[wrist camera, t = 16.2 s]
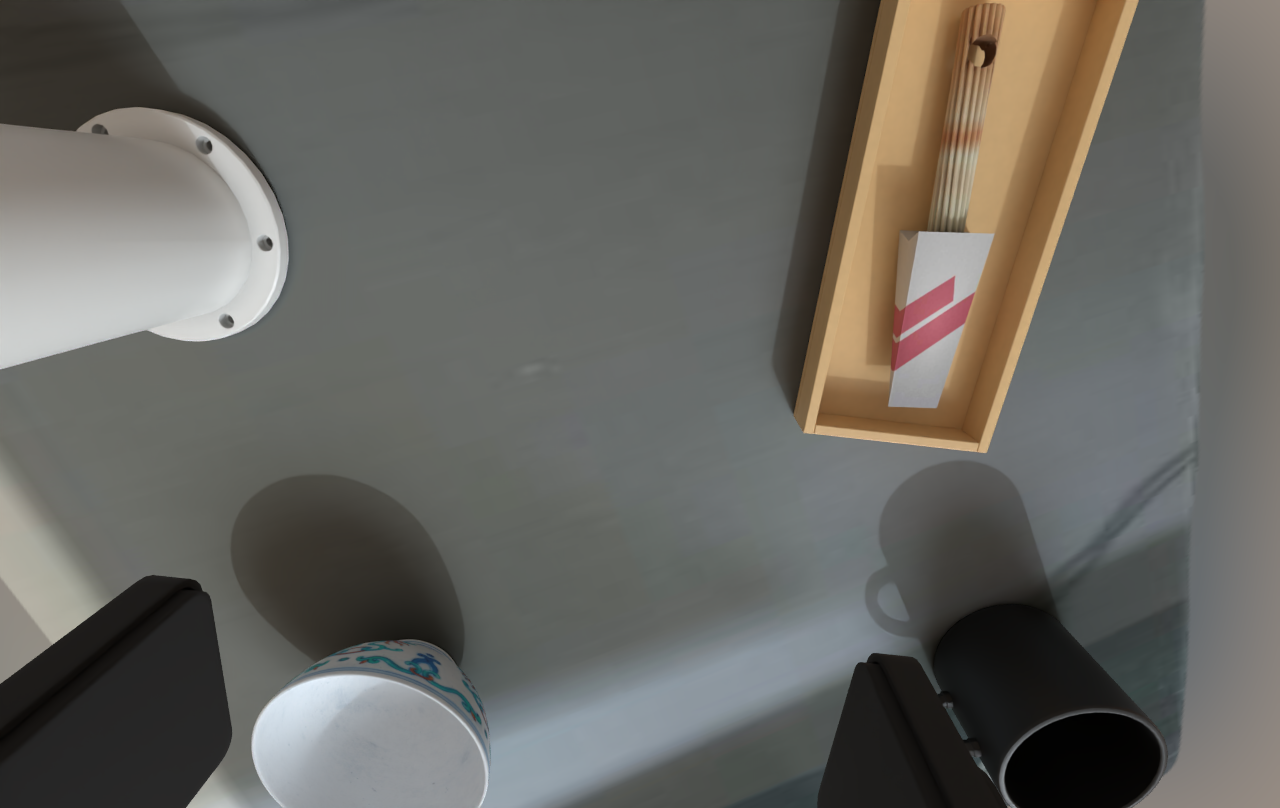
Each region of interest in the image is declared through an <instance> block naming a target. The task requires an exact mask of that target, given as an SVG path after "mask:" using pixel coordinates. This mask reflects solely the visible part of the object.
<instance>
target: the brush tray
mask: <svg viewBox="0 0 1280 808" xmlns="http://www.w3.org/2000/svg"><path fill="white" fill-rule="evenodd" d="M1138 1H1139V0H881V2H880V7H879V12H878V16H877V21H876V26H875V31H874V35H873V40H872V45H871V50H870V54H869V59H868V64H867V69H866V73H865V78H864V83H863V88H862V92H861V97H860V102H859V107H858V111H857V116H856V121H855V126H854V130H853V135H852V140H851V144H850V149H849V154H848V159H847V163H846V168H845V173H844V178H843V182H842V187H841V192H840V197H839V201H838V206H837V211H836V216H835V220H834V225H833V230H832V235H831V239H830V244H829V249H828V254H827V258H826V263H825V268H824V273H823V277H822V282H821V287H820V292H819V296H818V301H817V306H816V311H815V315H814V320H813V325H812V330H811V334H810V339H809V344H808V349H807V353H806V358H805V363H804V368H803V372H802V377H801V382H800V387H799V391H798V396H797V401H796V406H795V410H794V417H795V419H796V421H797V423H798V424H799V426H800V427H801V429H802V431H803V432H804V433H811V434H813V433H814V434H821V435H830V436H839V437H848V438H857V439H866V440H874V441H883V442H892V443H901V444H910V445H919V446H928V447H937V448H946V449H955V450H964V451H973V452H981V453H987V450H988V447H989V444H990V441H991V438H992V435H993V432H994V429H995V426H996V423H997V420H998V418H999V415H1000V412H1001V409H1002V406H1003V403H1004V400H1005V397H1006V394H1007V391H1008V388H1009V385H1010V382H1011V379H1012V376H1013V373H1014V370H1015V367H1016V364H1017V361H1018V358H1019V355H1020V352H1021V349H1022V346H1023V343H1024V340H1025V337H1026V334H1027V331H1028V328H1029V325H1030V322H1031V319H1032V316H1033V313H1034V310H1035V307H1036V304H1037V301H1038V298H1039V295H1040V292H1041V290H1042V287H1043V284H1044V281H1045V278H1046V275H1047V272H1048V269H1049V266H1050V263H1051V260H1052V257H1053V254H1054V251H1055V248H1056V245H1057V242H1058V239H1059V236H1060V233H1061V230H1062V227H1063V224H1064V221H1065V218H1066V215H1067V212H1068V209H1069V206H1070V203H1071V200H1072V197H1073V194H1074V191H1075V188H1076V185H1077V182H1078V179H1079V176H1080V173H1081V170H1082V167H1083V165H1084V162H1085V159H1086V156H1087V153H1088V150H1089V147H1090V144H1091V141H1092V138H1093V135H1094V132H1095V129H1096V126H1097V123H1098V120H1099V117H1100V114H1101V111H1102V108H1103V105H1104V102H1105V99H1106V96H1107V93H1108V90H1109V87H1110V84H1111V81H1112V78H1113V75H1114V72H1115V69H1116V66H1117V63H1118V60H1119V57H1120V54H1121V51H1122V48H1123V45H1124V42H1125V39H1126V37H1127V34H1128V31H1129V28H1130V25H1131V22H1132V19H1133V16H1134V13H1135V10H1136V7H1137V4H1138ZM985 3H997V4H999V3H1001V4H1002V5H1004V6H1005V8H1006V12H1005V17H1004V22H1003V27H1002V32H1001V37H1000V42H999V47H998V52H997V58H996V63H995V68H994V73H993V78H992V83H991V88H990V94H989V99H988V105H987V110H986V116H985V121H984V126H983V132H982V137H981V143H980V148H979V154H978V159H977V165H976V170H975V175H974V181H973V186H972V192H971V197H970V203H969V208H968V213H967V218H966V224H965V229H964V232H970V233H987V234H995V235H994V238H993V241H992V244H991V247H990V250H989V253H988V256H987V259H986V262H985V265H984V268H983V271H982V274H981V277H980V280H979V283H978V286H977V289H976V292H975V295H974V298H973V301H972V304H971V307H970V310H969V313H968V316H967V319H966V322H965V325H964V328H963V331H962V334H961V337H960V340H959V343H958V346H957V349H956V352H955V355H954V358H953V361H952V364H951V367H950V370H949V373H948V376H947V379H946V382H945V385H944V388H943V391H942V394H941V397H940V400H939V403H938V406H937V408H914V407H888V402H889V386H890V371H891V355H892V340H893V324H894V309H895V294H896V278H897V263H898V247H899V232H900V230H908V231H927V227H928V221H929V215H930V209H931V202H932V196H933V190H934V184H935V177H936V171H937V165H938V158H939V152H940V146H941V140H942V134H943V128H944V122H945V116H946V110H947V104H948V98H949V92H950V86H951V80H952V74H953V67H954V61H955V54H956V48H957V41H958V34H959V28H960V21H961V15H962V12H963V10H965V9H966V8H969V7H970V6H973V5H977V4H985ZM967 57H968V61H969V60H970V61H971V62H972V63H973V65H974V66H979V67H981V66H982V64H983V62H984V58H985V53H984V51H982V50H981V49H980V47H979V46H978V45H973V44H972V45H970V47H969V49H968V54H967Z"/></svg>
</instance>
